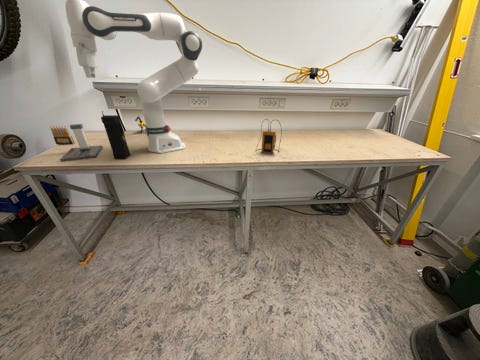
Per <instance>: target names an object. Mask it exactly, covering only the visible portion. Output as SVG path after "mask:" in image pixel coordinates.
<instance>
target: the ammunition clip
mask: <svg viewBox="0 0 480 360" xmlns="http://www.w3.org/2000/svg"><path fill="white" fill-rule="evenodd" d="M49 127H50V128H49V129H50V131H51V134H52V136H53V140H54V142H55V144H56V145H59V146H61V144H62V145H68V146H69V145H75V140H74V139H73V137H72V135H71V133H70V131H69V129H68V128H67V126H66V125H64V126H63V125H61V126H60V125H59V126H58V125H56V126H55V125H53V126H52V125H49Z"/></svg>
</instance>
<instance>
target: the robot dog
mask: <svg viewBox="0 0 480 360" xmlns="http://www.w3.org/2000/svg"><path fill="white" fill-rule="evenodd" d="M134 121H135V122H138V121H139V122H138V123H137V126H138V127H139V128H140V134H141V133H143V129H144V128H145V129H144V131H145V132H146V124H145V120H142V119H141V118H140V116H139V115H138V116H137V117H136V118H135V119H134Z"/></svg>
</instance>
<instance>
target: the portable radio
mask: <svg viewBox="0 0 480 360" xmlns="http://www.w3.org/2000/svg"><path fill="white" fill-rule="evenodd" d="M101 113H102V116H101V117H100V119H101V123H102V124H103V126H104V129H105V132H106V136H107V139H108V142H109V145H110V148H111V152H112V156H113V158H114V159H115V160H126V159H127V158H129V157H131V152H130V148H129V146H128V142H127V139H126V136H125V134H126V133H125V131H124V127H123V125H122V122H121V119H120V115H115V114H113V115H105V114H104V111H101Z"/></svg>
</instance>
